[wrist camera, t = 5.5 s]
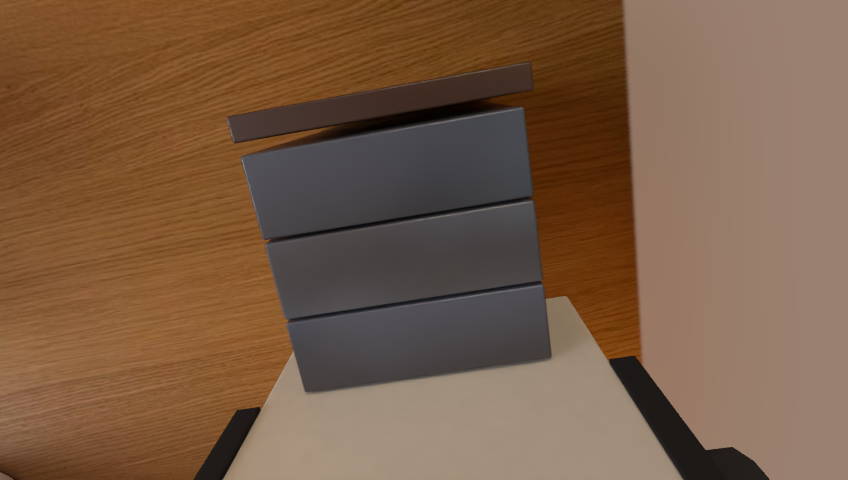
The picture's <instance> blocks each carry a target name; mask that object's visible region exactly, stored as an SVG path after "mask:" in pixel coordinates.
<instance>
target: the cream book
mask: <svg viewBox="0 0 848 480" xmlns="http://www.w3.org/2000/svg"><path fill="white" fill-rule="evenodd" d="M546 307H547V316H548V325H549V334H550V342H551V351H552V356H551V358H545V359H538V360H531V361H524V362H517V363H510V364H503V365H496V366H489V367H482V368H475V369H467V370H460V371H453V372H446V373H439V374H432V375H425V376H418V377H411V378H404V379H397V380H389V381H382V382H375V383H368V384H361V385H354V386H347V387H340V388H333V389H326V390H318V391H311V392H305V391H304V387H303V384H302V380H301V376H300V373H299V369H298V365H297V362H296V358H295V354H294V351H293V353H292V355H291V357H290V359H289V360H288V362H287V364H286V366H285V368H284V369H283V371H282V373H281V375H280V377H279V378H278V380H277V382H276V384H275V386H274V388H273V389H272V391H271V393H270V395H269V397H268V398H267V400H266V402H265V404H264V406H263V408H262V409H261V411H260V413H259V415H258V417H257V418H256V420H255V422H254V424H253V426H252V428H251V429H250V431H249V433H248V435H247V437H246V438H245V440H244V442H243V444H242V446H241V448H240V449H239V451H238V453H237V455H236V457H235V458H234V460H233V462H232V464H231V466H230V468H229V469H228V471H227V473H226V475H225V477H224V478H223V480H684V479H683V478H682V476H681V475H680V473H679V471H678V470H677V468H676V467H675V465H674V464H673V462H672V460H671V459H670V457H669V456H668V454H667V453H666V451H665V449H664V448H663V446H662V445H661V443H660V442H659V440H658V438H657V437H656V435H655V434H654V432H653V431H652V429H651V427H650V426H649V424H648V423H647V421H646V420H645V418H644V417H643V415H642V413H641V412H640V410H639V409H638V407H637V406H636V404H635V402H634V401H633V399H632V398H631V396H630V395H629V393H628V391H627V390H626V388H625V387H624V385H623V384H622V382H621V380H620V379H619V377H618V376H617V374H616V373H615V371H614V369H613V368H612V366H611V365H610V363H609V362H608V360H607V358H606V357H605V355H604V354H603V352H602V351H601V349H600V347H599V346H598V344H597V343H596V341H595V340H594V338H593V336H592V335H591V333H590V332H589V330H588V329H587V327H586V326H585V324H584V322H583V321H582V319H581V318H580V316H579V315H578V313H577V311H576V310H575V308H574V307H573V305H572V304H571V302H570V300H569V299H568V297H567V296H562V297H556V298H549V299H546Z"/></svg>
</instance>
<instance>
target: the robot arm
mask: <svg viewBox="0 0 848 480" xmlns="http://www.w3.org/2000/svg"><path fill="white" fill-rule="evenodd" d="M609 361H610V365H611V366H612V368H613V369H614V371H615V373H616V374H617V376H618V377H619V379H620V380H621V382H622V384H623V385H624V387H625V388H626V390H627V391H628V393H629V395H630V396H631V398H632V399H633V401H634V402H635V404H636V406H637V407H638V409H639V410H640V412H641V413H642V415H643V417H644V418H645V420H646V421H647V423H648V424H649V426H650V427H651V429H652V431H653V432H654V434H655V435H656V437H657V438H658V440H659V442H660V443H661V445H662V446H663V448H664V449H665V451H666V453H667V454H668V456H669V457H670V459H671V460H672V462H673V464H674V465H675V467H676V468H677V470H678V471H679V473H680V475H681V476H682V478H683V479H684V480H769V478H768V477H767V476H766V475H765V473H764V472H763V471H762V470H761V469H760V468H759V466H758V465H757V464H756V463H755V462H754V461H753V460H751V459H750V458H748V457H747V456H745V455H744V454H742V453H741V452H739V451H738V450H736V449H734V448H733V447H729V448H721V449H713V450H705V449H704V448H703V446H702V445H701V444H700V442H699V441H698V440H697V438H696V437H695V436H694V434H693V433H692V432H691V430H690V429H689V428H688V426H687V425H686V424H685V422H684V421H683V420H682V418H681V417H680V416H679V414H678V413H677V412H676V410H675V409H674V408H673V406H672V405H671V404H670V402H669V401H668V399H667V398H666V397H665V396H664V394H663V393H662V391H661V390H660V389H659V387H658V386H657V385H656V384H655V382H654V381H653V379H652V378H651V377H650V375H649V374H648V373H647V371H646V370H645V369H644V367H643V366H642V365H641V363H640V362H639V361H638V359H637V358H636V357H635V356H629V357H622V358H614V359H609ZM260 411H261V410H260V407H256V408H249V409H242V410H237V411H236V413H235V414H234V416H233V417H232V419H231V421H230V422H229V424H228V425H227V427H226V429H225V430H224V432H223V433H222V435H221V436H220V438H219V440H218V441H217V443H216V444H215V446H214V448H213V449H212V451H211V452H210V454H209V456H208V457H207V459H206V460H205V462H204V464H203V465H202V467H201V468H200V470H199V472H198V473H197V475H196V476H195V478H194V480H223V478H224V477H225V475H226V473H227V471H228V469H229V468H230V466H231V464H232V462H233V460H234V458H235V457H236V455H237V453H238V451H239V449H240V448H241V446H242V444H243V442H244V440H245V438H246V437H247V435H248V433H249V431H250V429H251V428H252V426H253V424H254V422H255V420H256V418H257V417H258V415H259V413H260Z"/></svg>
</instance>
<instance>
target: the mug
mask: <svg viewBox="0 0 848 480" xmlns="http://www.w3.org/2000/svg"><path fill="white" fill-rule="evenodd" d="M0 480H14V479H13V478H11V477H9V476H8V475H6V474H4V473H1V472H0Z"/></svg>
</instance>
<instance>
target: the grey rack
mask: <svg viewBox="0 0 848 480" xmlns="http://www.w3.org/2000/svg"><path fill="white" fill-rule="evenodd" d="M533 88H534V86H533V76H532V67H531V62H523V63H517V64H512V65H506V66H501V67H495V68H490V69H484V70H479V71H473V72H468V73H463V74H457V75H452V76H446V77H441V78H435V79H430V80H424V81H419V82H413V83H408V84H402V85H397V86H391V87H386V88H380V89H375V90H369V91H364V92H358V93H353V94H347V95H342V96H336V97H331V98H325V99H320V100H314V101H309V102H303V103H298V104H292V105H287V106H281V107H276V108H270V109H265V110H259V111H254V112H248V113H243V114H237V115H232V116H228V117H227V121H228V125H229V129H230V132H231V136H232V140H233V142H234V143H240V142H246V141H251V140H257V139H263V138H268V137H274V136H279V135H285V134H291V133H296V132H302V131H308V130H313V129H319V128H324V127H330V126H336V125H341V124H347V123H352V122H358V121H364V120H369V119H375V118H381V117H386V116H392V115H397V114H403V113H409V112H414V111H420V110H425V109H431V108H437V107H442V106H448V105H454V104H459V103H465V102H470V101H476V100H482V99H487V98H493V97H498V96H504V95H510V94H515V93H521V92H527V91H532V90H533ZM241 161H242V165H243V168H244V172H245V176H246V179H247V183H248V186H249V190H250V194H251V197H252V201H253V205H254V208H255V212H256V216H257V219H258V223H259V227H260V230H261V234H262V238H263V239H264V240H268V239H271V240H270V241H268V242H267V243H266V244H265V248H266V252H267V255H268V259H269V263H270V266H271V270H272V273H273V277H274V281H275V284H276V288H277V292H278V295H279V299H280V303H281V306H282V310H283V314H284V317H285V319H289V321H288V322H287V329H288V333H289V336H290V340H291V343H292V347H293V351H294V354H295V358H296V362H297V365H298V369H299V373H300V376H301V380H302V384H303V387H304V391H305V392H311V391H318V390H326V389H333V388H340V387H347V386H354V385H361V384H368V383H375V382H382V381H389V380H397V379H404V378H411V377H418V376H425V375H432V374H439V373H446V372H453V371H460V370H467V369H475V368H482V367H489V366H496V365H503V364H510V363H517V362H524V361H531V360H538V359H545V358H551V356H552V351H551V342H550V334H549V325H548V316H547V307H546V298H545V289H544V285H543V283H542V281H541V280H543V272H542V263H541V254H540V245H539V236H538V227H537V218H536V209H535V202H534V200H533V199H532V198H531V196H533V194H534V191H533V182H532V173H531V164H530V155H529V146H528V137H527V128H526V119H525V110H524V108H523V107H518V106H509V105H500V104H491V103H481V102H478V103H473V104H467V105H461V106H456V107H450V108H445V109H439V110H433V111H428V112H422V113H416V114H411V115H405V116H400V117H394V118H388V119H383V120H377V121H371V122H366V123H360V124H355V125H349V126H343V127H338V128H333V129H329V130H326V131H323V132H319V133H316V134H313V135H310V136H306V137H303V138H300V139H296V140H293V141H290V142H287V143H283V144H280V145H277V146H273V147H270V148H267V149H264V150H260V151H257V152H254V153H250V154H247V155H244V156H242V157H241Z"/></svg>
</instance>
